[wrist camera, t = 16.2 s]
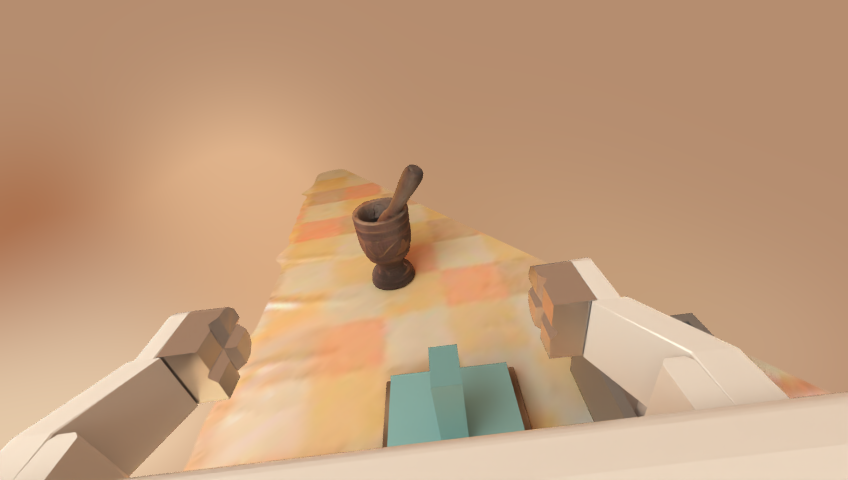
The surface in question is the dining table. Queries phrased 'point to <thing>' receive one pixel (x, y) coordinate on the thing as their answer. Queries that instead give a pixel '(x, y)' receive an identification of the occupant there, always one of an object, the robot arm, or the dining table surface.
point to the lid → (451, 401)
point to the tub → (612, 386)
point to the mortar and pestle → (389, 232)
